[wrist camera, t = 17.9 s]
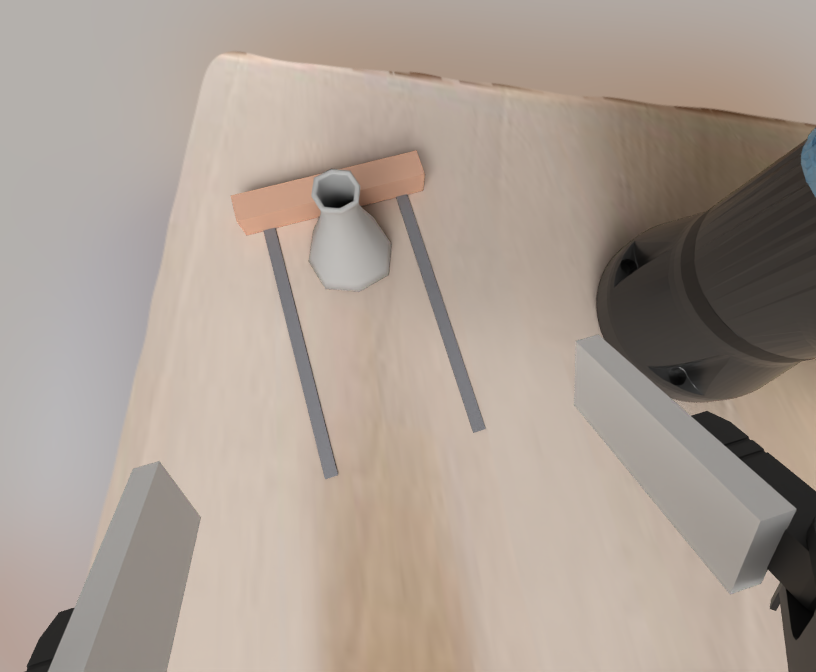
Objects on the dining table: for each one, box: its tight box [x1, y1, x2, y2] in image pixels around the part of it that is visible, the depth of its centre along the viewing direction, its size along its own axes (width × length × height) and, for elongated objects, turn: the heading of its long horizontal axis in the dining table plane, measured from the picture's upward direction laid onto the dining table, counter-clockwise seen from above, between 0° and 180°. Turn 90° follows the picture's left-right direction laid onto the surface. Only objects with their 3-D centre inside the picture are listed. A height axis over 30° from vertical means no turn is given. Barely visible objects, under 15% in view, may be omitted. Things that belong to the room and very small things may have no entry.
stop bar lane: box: [231, 150, 485, 479], centre depth 35 cm, size 16×24×2 cm
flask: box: [309, 169, 391, 292], centre depth 33 cm, size 7×7×10 cm
